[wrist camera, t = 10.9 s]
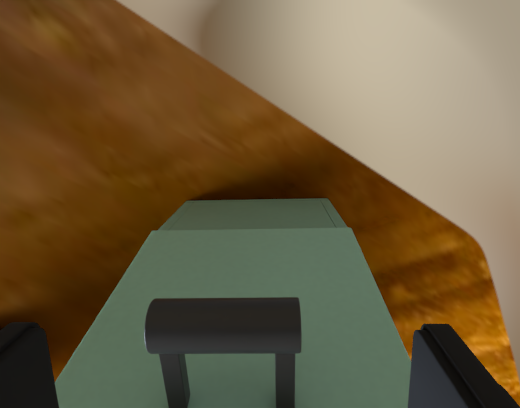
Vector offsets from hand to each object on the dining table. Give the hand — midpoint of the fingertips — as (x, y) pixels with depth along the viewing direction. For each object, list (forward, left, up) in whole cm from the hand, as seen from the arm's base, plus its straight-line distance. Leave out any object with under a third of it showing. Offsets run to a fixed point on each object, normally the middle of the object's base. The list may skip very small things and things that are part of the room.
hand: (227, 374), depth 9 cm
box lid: (+4, 0, -10) cm, 11 cm away
